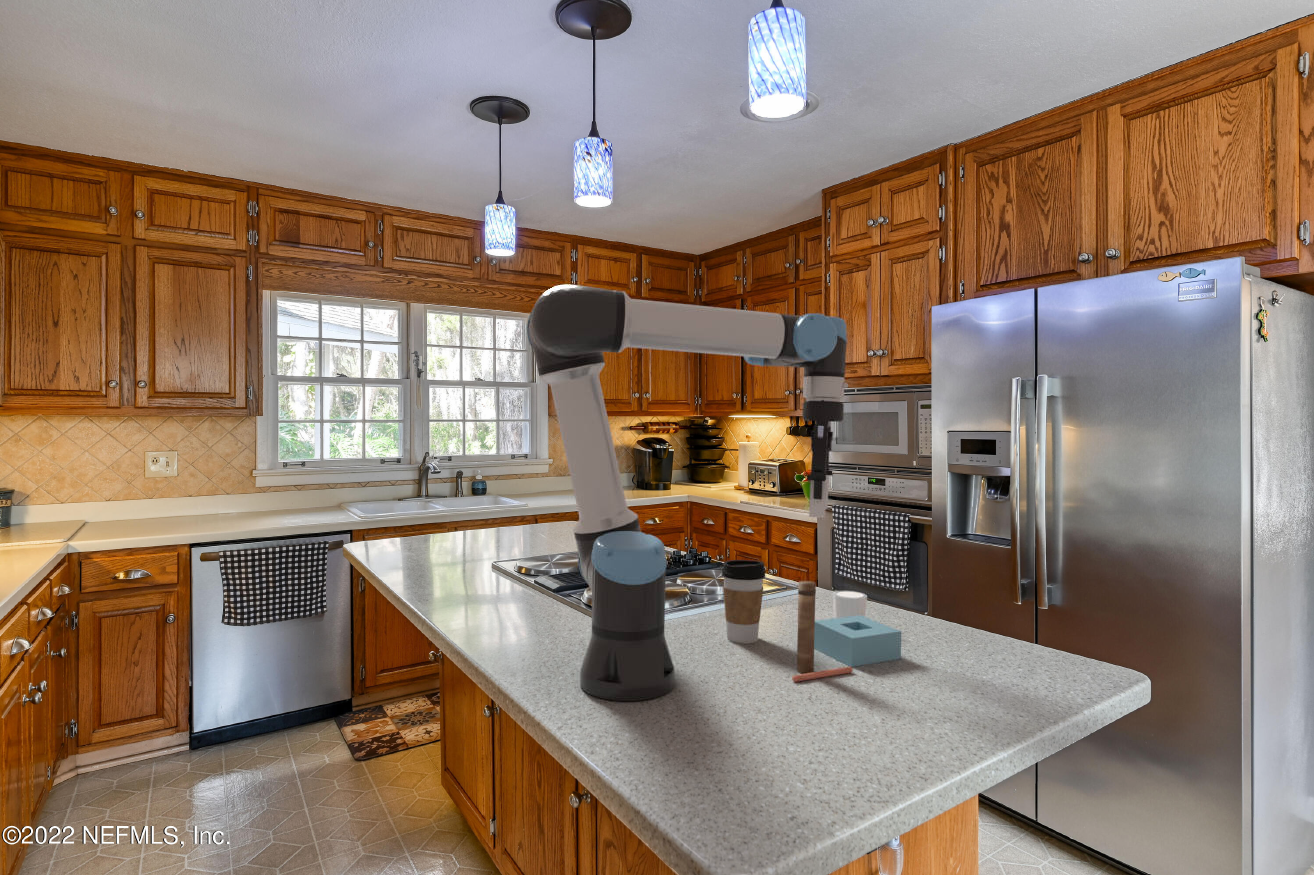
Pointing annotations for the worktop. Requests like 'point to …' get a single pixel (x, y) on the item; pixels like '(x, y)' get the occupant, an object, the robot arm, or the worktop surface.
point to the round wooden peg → (806, 626)
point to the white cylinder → (849, 603)
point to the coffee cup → (743, 599)
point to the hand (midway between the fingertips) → (818, 512)
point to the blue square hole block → (857, 640)
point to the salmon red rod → (822, 674)
